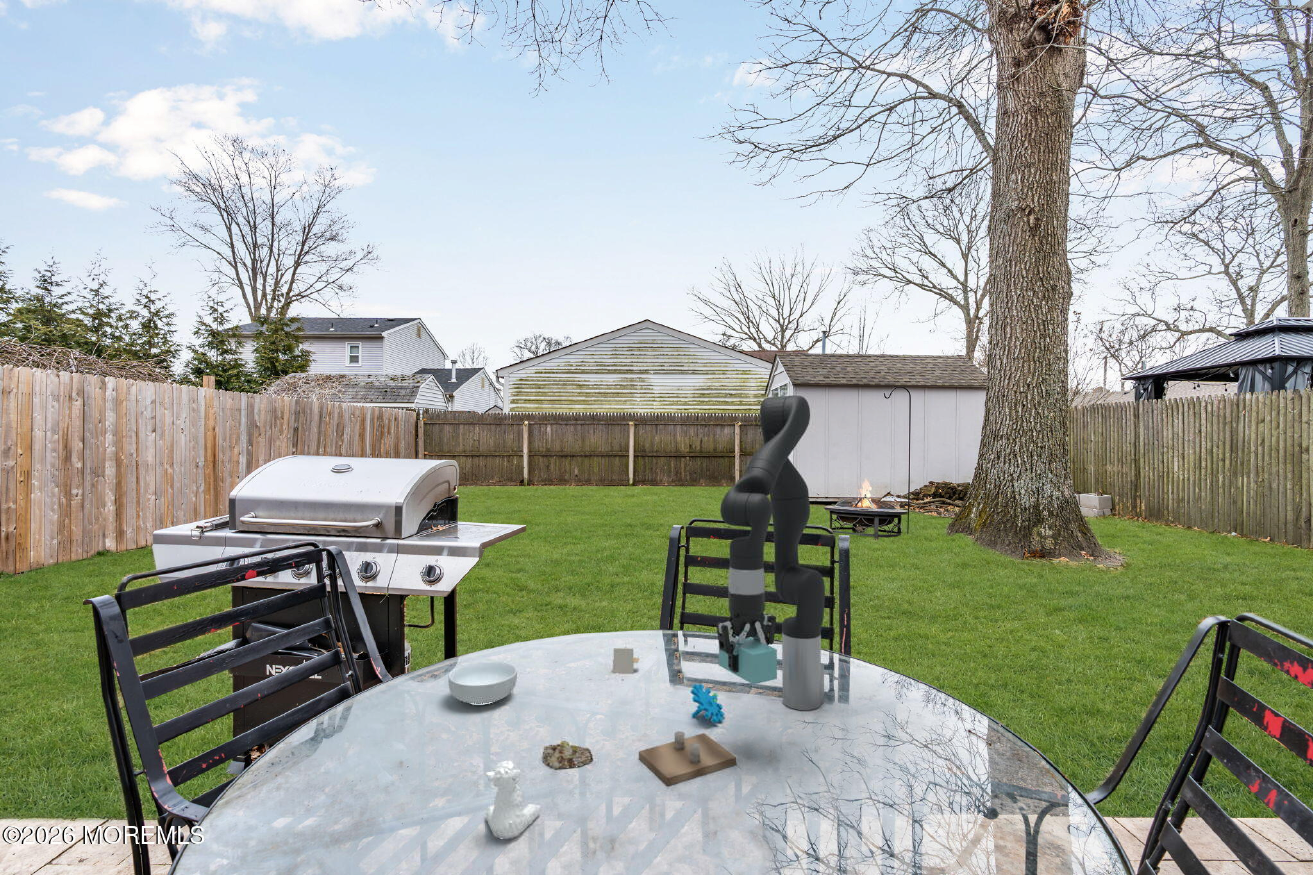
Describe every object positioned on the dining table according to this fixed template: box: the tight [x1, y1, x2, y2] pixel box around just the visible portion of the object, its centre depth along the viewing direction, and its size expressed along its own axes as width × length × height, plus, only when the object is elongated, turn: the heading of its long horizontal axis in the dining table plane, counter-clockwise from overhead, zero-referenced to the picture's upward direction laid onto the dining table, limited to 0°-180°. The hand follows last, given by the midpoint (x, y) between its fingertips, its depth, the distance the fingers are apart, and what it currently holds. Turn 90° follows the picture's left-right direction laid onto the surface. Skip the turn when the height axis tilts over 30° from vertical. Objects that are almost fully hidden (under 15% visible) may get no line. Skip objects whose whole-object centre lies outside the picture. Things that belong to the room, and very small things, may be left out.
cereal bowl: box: [448, 660, 518, 704], centre depth 168 cm, size 17×17×7 cm
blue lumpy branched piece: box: [690, 683, 725, 724], centre depth 157 cm, size 11×6×10 cm
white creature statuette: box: [485, 760, 542, 840], centre depth 115 cm, size 10×9×12 cm
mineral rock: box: [542, 740, 594, 770], centre depth 138 cm, size 11×4×8 cm
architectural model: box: [612, 646, 640, 675], centre depth 186 cm, size 3×7×7 cm, turn 85°
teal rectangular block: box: [718, 636, 778, 685], centre depth 140 cm, size 6×12×6 cm, turn 29°
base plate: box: [638, 730, 738, 787], centre depth 137 cm, size 16×12×4 cm
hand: (747, 668), depth 140 cm, fingers closed on teal rectangular block, 6 cm apart
